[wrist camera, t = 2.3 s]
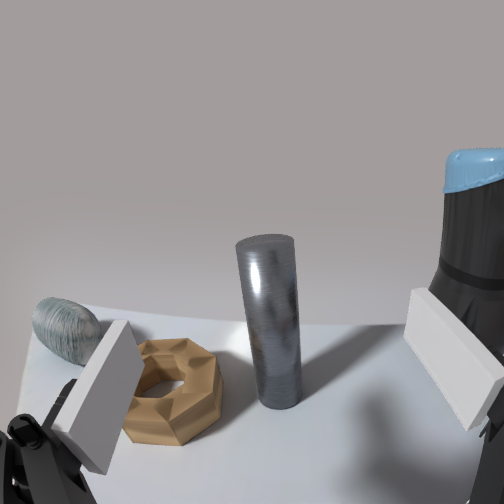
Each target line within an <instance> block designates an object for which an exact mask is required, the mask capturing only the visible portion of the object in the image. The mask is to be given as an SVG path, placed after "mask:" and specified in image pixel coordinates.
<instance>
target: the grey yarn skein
mask: <svg viewBox="0 0 504 504" xmlns="http://www.w3.org/2000/svg"><path fill="white" fill-rule="evenodd" d="M32 323H33V329H34V332H35V334H36V336H37V338H38V339H39V340H40V341H41V343H43V344H44V345H45V346H46V347H47V348H48V349H50V350H51V351H52V352H53V353H55V354H56V355H58V356H59V357H61V358H63V359H64V360H66V361H68V362H71V363H73V364H76V365H87V363H88V361H89V360H90V358H91V356H92V355H93V353H94V351H95V350H96V348H97V347H98V345H99V343H100V342H101V328H100V325H99V322H98V320H97V318H96V317H95V315H94V314H93V313H92V312H91V311H89V310H88V309H87V308H85V307H83V306H81V305H79V304H77V303H75V302H72V301H69V300H65V299H58V298H53V297H51V298H46V299H44V300H42V301H41V302H40V303H39V304H38V305H37V307H36V309H35V311H34V314H33V318H32Z"/></svg>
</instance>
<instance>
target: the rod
mask: <svg viewBox="0 0 504 504" xmlns="http://www.w3.org/2000/svg"><path fill="white" fill-rule="evenodd" d="M236 253H237V260H238V267H239V274H240V280H241V287H242V294H243V300H244V307H245V314H246V320H247V327H248V333H249V340H250V346H251V352H252V359H253V365H254V371H255V377H256V383H257V390H258V396H259V400H260V402H261V403H262V404H263V405H264V406H266V407H268V408H271V409H278V410H280V409H286V408H289V407H292V406H294V405H295V404H296V403H298V401H299V400H300V399H301V396H302V375H301V348H300V327H299V308H298V292H297V277H296V264H295V263H296V262H295V249H294V239H293V238H292V237H290V236H287V235H282V234H265V235H258V236H253V237H249V238H246V239H243V240H241V241H239V242H238V243H237V244H236Z"/></svg>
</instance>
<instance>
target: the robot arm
mask: <svg viewBox="0 0 504 504" xmlns="http://www.w3.org/2000/svg"><path fill="white" fill-rule="evenodd" d="M443 192H444V193H445V198H444V218H443V232H442V241H441V249H440V258H439V265H438V269H437V271H436V273H435V276H434V278H433V280H432V282H431V285H430V287H429V289H428V290H427V289H426V288H425V287H422V288H416V289H412V291H411V298H410V304H409V310H408V316H407V321H406V326H405V331H404V336H403V337H404V338H405V340H406V341H407V342H408V344H409V345H410V347H411V348H412V349H413V351H414V352H415V354H416V355H417V357H418V358H419V359H420V361H421V362H422V364H423V365H424V367H425V368H426V370H427V371H428V373H429V374H430V375H431V377H432V378H433V380H434V381H435V383H436V384H437V386H438V387H439V389H440V391H441V392H442V394H443V395H444V397H445V398H446V400H447V401H448V403H449V405H450V406H451V408H452V409H453V411H454V412H455V414H456V416H457V417H458V419H459V421H460V422H461V424H462V425H463V427H464V429H465V430H466V431H468V430H470V429H472V428H474V427H476V426H478V425H480V424H481V422H482V421H483V419H484V418H485V416H486V415H487V416H488V417H489V419H490V420H489V421H488V423H487V424H486V426H485V427H484V429H483V430H482V432H481V433H480V436H479V437H482V436H483V434H484V433H485V431H486V434H485V437H484V438H485V439H484V445H483V450H482V455H481V459H480V464H479V468H478V472H477V476H476V479H475V483H474V486H473V490H472V493H471V496H470V500H469V503H468V504H504V356H503V355H502V354H504V148H479V149H478V148H476V149H460V150H455V151H453V152H452V153H451V154H450V155H449V156H448V158H447V160H446V170H445V186H444V187H443ZM144 367H145V364H144V362H143V359H142V357H141V354H140V351H139V349H138V346H137V343H136V341H135V338H134V335H133V332H132V330H131V327H130V324H129V321H128V320H115V321H113V323H112V324H111V326H110V328H109V329H108V331H107V332H106V334H105V335H104V337H103V339H102V340H101V342H100V343H99V345H98V347H97V348H96V350H95V351H94V353H93V355H92V356H91V358H90V360H89V361H88V363H87V365H86V366H85V368H84V370H83V371H82V373H81V375H80V376H79V378H78V379H72V380H71V381H70V382H69V383H67V384H66V385H65V386H64V388H63V389H62V391H61V393H60V394H59V397H58V398H57V400H56V401H55V404H54V405H53V407H52V408H51V410H50V412H49V414H48V415H47V417H46V419H45V421H44V423H43V424H42V426H40V425H39V424H38V423H37V421H36V420H35V419H34V417H32V416H31V415H30V414H20V415H18V416H16V417H14V418H13V419H12V420H11V421H10V423H9V425H8V430H7V433H8V434H9V435H10V436H11V437H12V438H13V439H9V438H8V437H7V436H6V435H5V433H3V432H2V431H0V504H97V503H96V501H95V499H94V497H93V495H92V493H91V491H90V489H89V486H88V484H87V482H86V480H85V478H84V475H83V474H82V472H81V471H80V467H81V465H83V466H84V467H85V468H86V469H87V470H88V471H89V472H93V473H97V474H102V475H106V474H107V471H108V468H109V465H110V462H111V459H112V455H113V452H114V449H115V446H116V443H117V440H118V438H119V435H120V432H121V429H122V426H123V423H124V420H125V417H126V415H127V412H128V409H129V406H130V404H131V401H132V398H133V395H134V393H135V390H136V387H137V385H138V382H139V380H140V377H141V374H142V372H143V369H144ZM12 478H13V479H14V480H15V484H14V485H13V484H12Z"/></svg>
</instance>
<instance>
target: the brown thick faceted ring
mask: <svg viewBox="0 0 504 504" xmlns="http://www.w3.org/2000/svg"><path fill="white" fill-rule="evenodd" d="M138 349H139V351H140V354H141V357H142V359H143V362H144V364H145V367H144V369H143V372H142V374H141V377H140V380H139V382H138V385H137V387H136V390H135V393H134V395H133V398H132V401H131V404H130V406H129V409H128V412H127V415H126V417H125V420H124V423H123V426H122V428H123V430H124V431H125V433H126V434H127V435H128V437H129V438H130V440H131V441H132V442H133V443H143V444H155V445H170V446H182V445H183V444H185V443H186V442H188V441H189V440H191V439H192V438H194V437H195V436H196V435H198V434H199V433H201V432H202V431H203V430H205V429H206V428H207V427H209V426H210V425H212V424H213V423H214V422H216V421H217V420H218V419H220V418H221V405H222V390H223V380H222V376H221V372H220V368H219V364H218V360H217V357H216V356H215V355H213V354H211V353H210V352H208V351H207V350H205V349H204V348H202V347H200V346H199V345H197V344H196V343H194V342H193V341H191V340H190V339H188V338H184V339H164V340H147V341H145V342H143V343H141V344H140V345H138ZM178 380H183V381H184V384H183V385H181V386H180V387H178V388H177V389H175V390H174V391H172V392H170V393H169V394H167V395H166V396H164V397H163V398H141V396H142V393H143V391H145V390H147V389H148V388H150V387H152V386H153V385H155V384H157V383H158V382H160V381H178Z"/></svg>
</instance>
